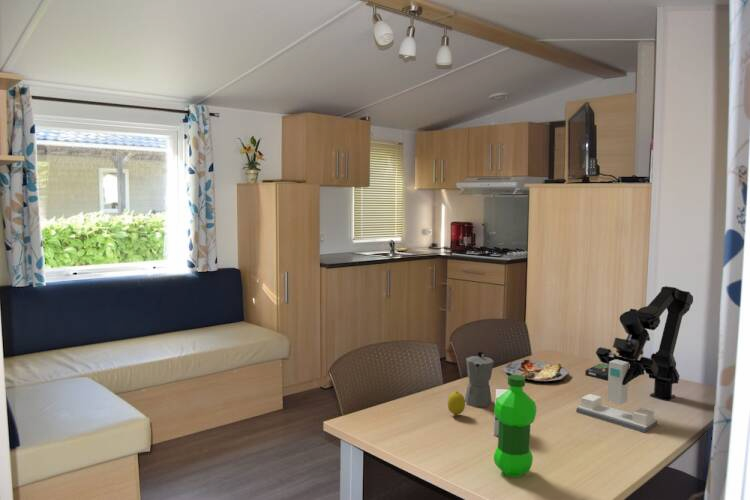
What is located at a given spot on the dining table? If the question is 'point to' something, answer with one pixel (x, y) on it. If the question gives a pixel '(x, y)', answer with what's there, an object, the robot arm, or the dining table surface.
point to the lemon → (456, 403)
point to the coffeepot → (479, 380)
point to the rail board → (617, 414)
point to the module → (617, 382)
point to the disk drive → (598, 371)
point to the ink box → (496, 421)
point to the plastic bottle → (514, 428)
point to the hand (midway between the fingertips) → (615, 382)
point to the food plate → (537, 370)
